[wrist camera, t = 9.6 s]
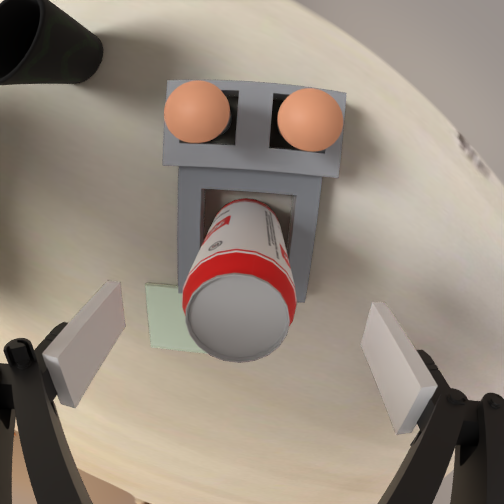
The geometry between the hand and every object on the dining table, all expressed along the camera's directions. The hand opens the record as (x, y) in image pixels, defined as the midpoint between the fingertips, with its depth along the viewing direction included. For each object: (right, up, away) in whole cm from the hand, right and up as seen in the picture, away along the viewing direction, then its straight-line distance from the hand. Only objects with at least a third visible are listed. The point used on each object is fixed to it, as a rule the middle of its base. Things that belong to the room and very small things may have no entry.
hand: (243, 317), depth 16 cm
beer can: (0, +5, +15) cm, 16 cm away
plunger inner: (-3, +15, +10) cm, 18 cm away
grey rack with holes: (0, +9, +13) cm, 16 cm away
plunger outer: (+4, +14, +10) cm, 18 cm away
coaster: (-7, -4, +18) cm, 20 cm away
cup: (-17, +23, +8) cm, 29 cm away
